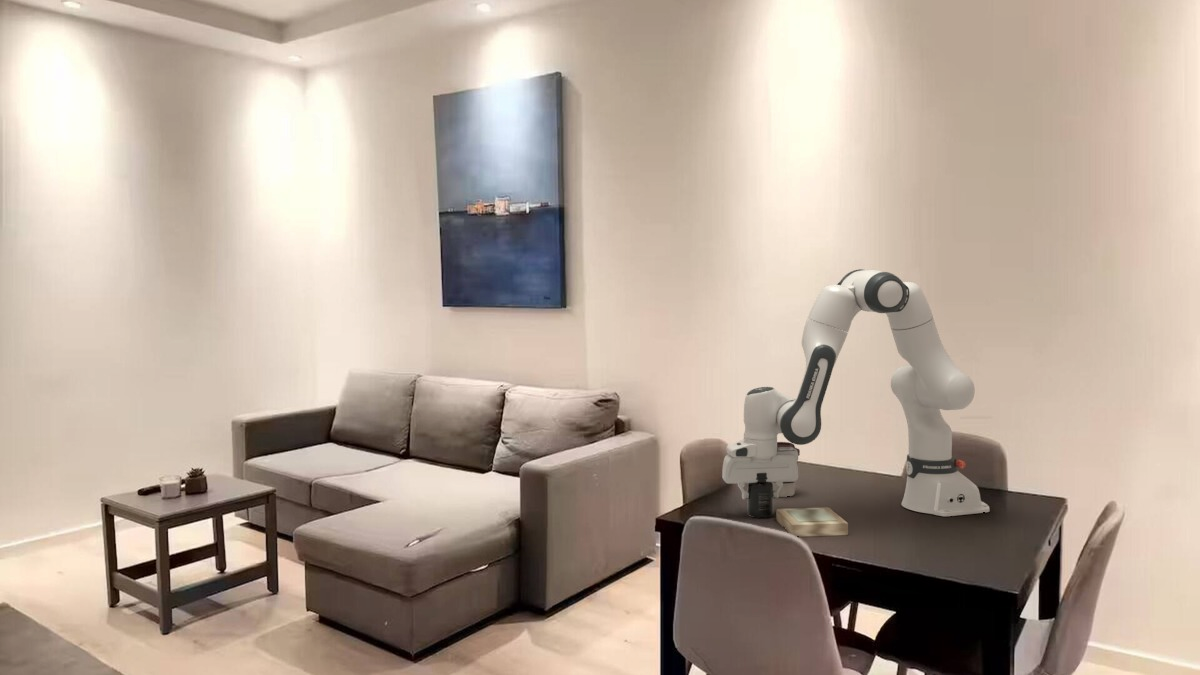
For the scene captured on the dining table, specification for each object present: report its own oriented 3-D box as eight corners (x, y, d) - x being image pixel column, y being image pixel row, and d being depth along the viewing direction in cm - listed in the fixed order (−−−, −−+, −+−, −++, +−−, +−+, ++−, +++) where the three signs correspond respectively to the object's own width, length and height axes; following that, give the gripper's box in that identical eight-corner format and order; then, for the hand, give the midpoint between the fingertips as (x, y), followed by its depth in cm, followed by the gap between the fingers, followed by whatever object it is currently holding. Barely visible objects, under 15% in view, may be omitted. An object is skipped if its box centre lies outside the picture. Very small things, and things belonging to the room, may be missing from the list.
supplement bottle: (775, 513, 224) (775, 469, 223) (769, 520, 218) (769, 475, 217) (750, 510, 227) (750, 467, 226) (744, 517, 221) (744, 473, 220)
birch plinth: (828, 518, 219) (828, 506, 218) (847, 534, 205) (848, 522, 204) (776, 520, 218) (776, 508, 217) (792, 536, 204) (792, 524, 203)
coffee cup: (758, 494, 244) (758, 444, 242) (778, 488, 250) (778, 439, 249) (786, 500, 236) (786, 449, 235) (806, 494, 243) (806, 443, 242)
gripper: (794, 444, 225) (794, 493, 226) (720, 446, 223) (720, 496, 224) (802, 449, 219) (801, 500, 220) (726, 451, 217) (726, 502, 218)
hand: (760, 498), depth 222 cm, fingers closed on supplement bottle, 7 cm apart
